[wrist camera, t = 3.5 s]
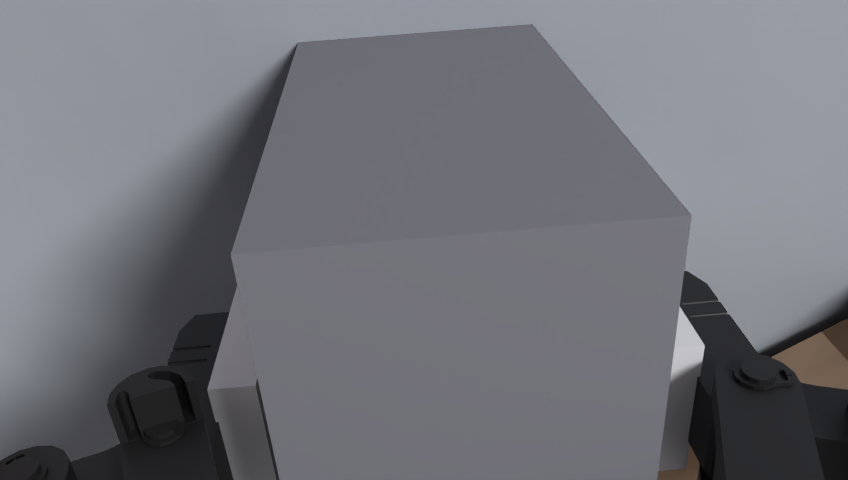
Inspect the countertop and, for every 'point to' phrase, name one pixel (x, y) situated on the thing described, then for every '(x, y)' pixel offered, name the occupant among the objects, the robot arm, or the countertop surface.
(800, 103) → the countertop surface
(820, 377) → the gate
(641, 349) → the rubber block
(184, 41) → the countertop surface
